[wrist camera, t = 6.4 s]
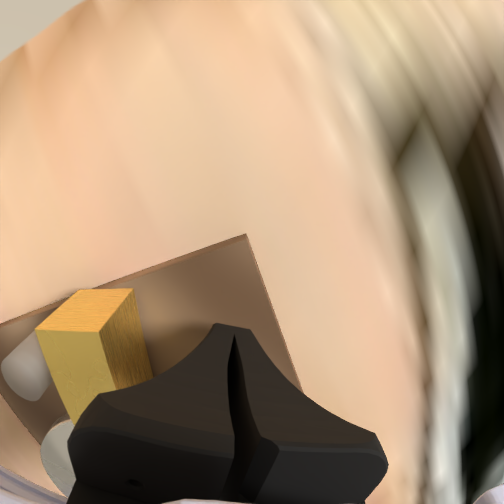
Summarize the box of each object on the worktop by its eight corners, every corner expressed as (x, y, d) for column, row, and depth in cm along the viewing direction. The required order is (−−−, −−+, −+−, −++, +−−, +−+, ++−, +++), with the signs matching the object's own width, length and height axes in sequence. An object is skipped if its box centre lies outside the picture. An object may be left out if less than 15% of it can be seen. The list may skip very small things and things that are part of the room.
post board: (137, 523, 18) (127, 569, 13) (-23, 332, 13) (-74, 375, 8) (340, 496, 17) (355, 552, 12) (245, 233, 12) (248, 280, 7)
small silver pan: (273, 513, 16) (277, 556, 12) (101, 502, 16) (89, 539, 12) (265, 281, 11) (275, 331, 8) (-2, 290, 11) (-50, 323, 8)
